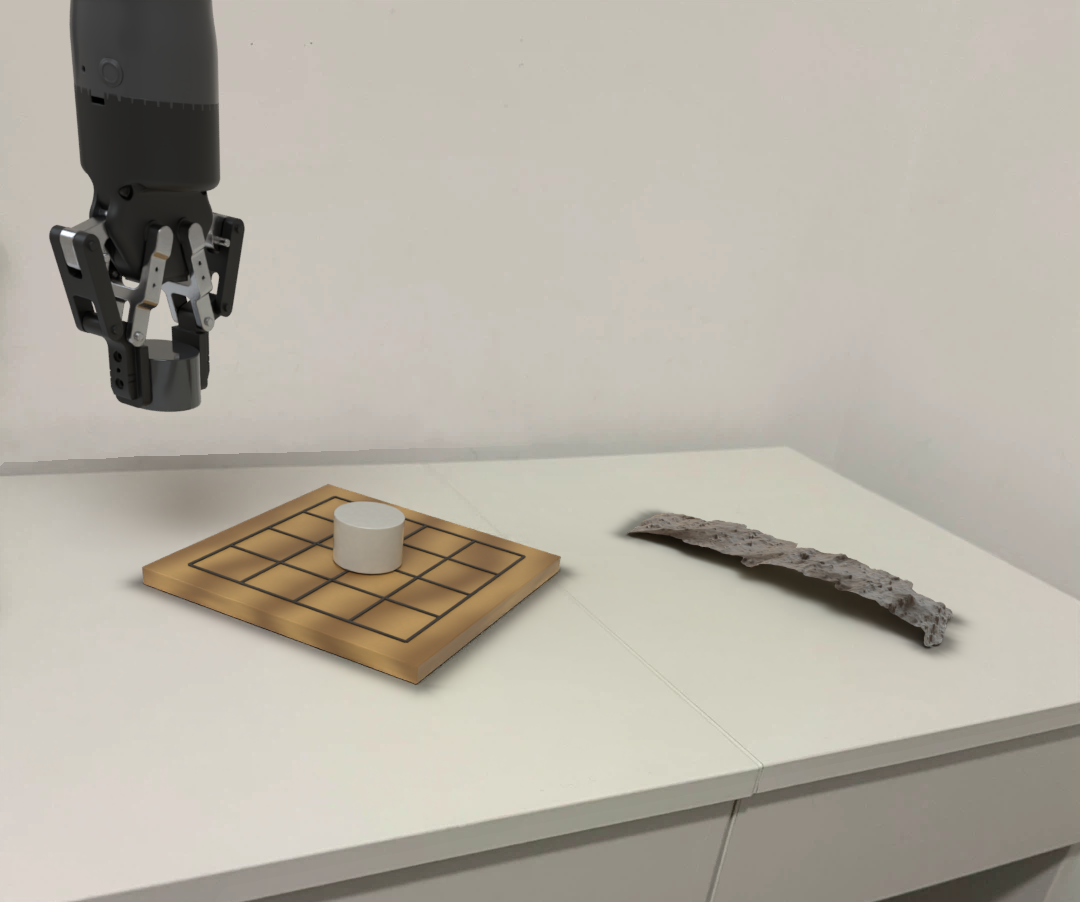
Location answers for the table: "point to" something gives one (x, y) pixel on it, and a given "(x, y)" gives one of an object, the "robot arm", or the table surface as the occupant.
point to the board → (357, 583)
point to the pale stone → (368, 537)
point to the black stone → (173, 376)
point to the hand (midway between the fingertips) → (162, 394)
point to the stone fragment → (808, 566)
